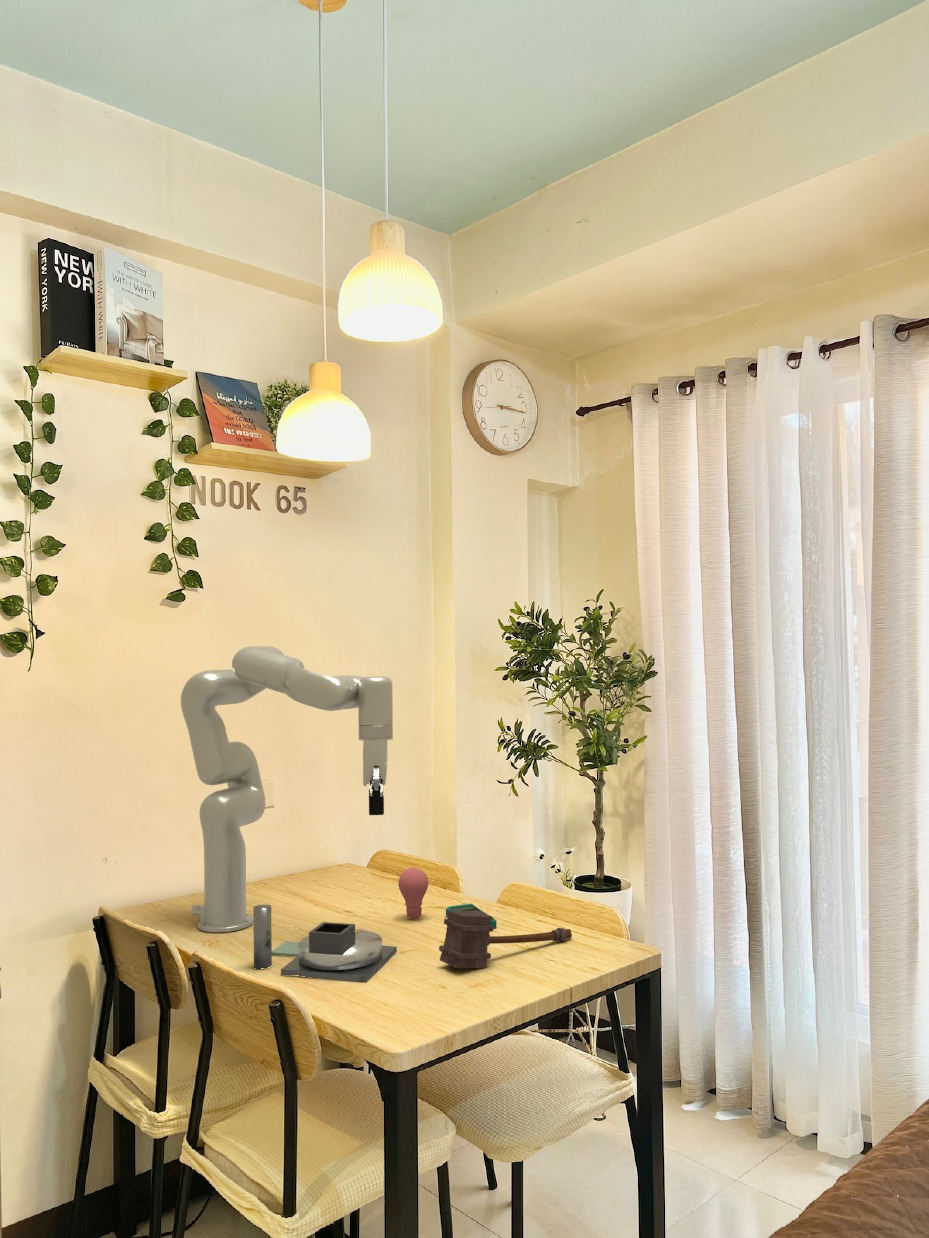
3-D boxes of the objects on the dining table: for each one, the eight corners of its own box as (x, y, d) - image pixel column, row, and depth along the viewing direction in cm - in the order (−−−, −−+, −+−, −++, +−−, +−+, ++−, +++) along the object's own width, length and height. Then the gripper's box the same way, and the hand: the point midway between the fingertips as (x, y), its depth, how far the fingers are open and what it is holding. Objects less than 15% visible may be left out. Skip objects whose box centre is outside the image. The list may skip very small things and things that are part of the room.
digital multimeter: (468, 935, 206) (468, 922, 206) (444, 917, 220) (444, 905, 220) (498, 931, 209) (498, 918, 209) (473, 914, 223) (472, 901, 223)
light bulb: (411, 924, 213) (410, 873, 214) (392, 918, 219) (392, 867, 219) (434, 918, 218) (434, 867, 218) (416, 912, 223) (415, 862, 224)
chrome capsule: (250, 968, 185) (250, 908, 186) (258, 962, 189) (258, 904, 189) (266, 970, 185) (266, 909, 185) (274, 964, 188) (274, 904, 188)
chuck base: (280, 975, 181) (280, 969, 181) (318, 946, 199) (318, 940, 199) (366, 982, 177) (366, 975, 177) (396, 952, 194) (396, 946, 194)
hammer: (436, 959, 185) (443, 908, 186) (556, 958, 203) (561, 912, 205) (455, 968, 179) (463, 916, 181) (576, 967, 198) (582, 919, 199)
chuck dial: (284, 966, 182) (283, 931, 182) (319, 939, 198) (319, 908, 198) (364, 972, 177) (364, 937, 178) (393, 945, 194) (393, 912, 194)
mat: (269, 954, 194) (269, 952, 194) (285, 943, 201) (285, 940, 201) (303, 957, 192) (303, 954, 192) (317, 945, 199) (317, 943, 199)
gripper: (359, 729, 210) (359, 804, 209) (358, 736, 193) (358, 818, 192) (391, 729, 211) (392, 803, 210) (393, 736, 194) (394, 817, 193)
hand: (376, 810), depth 201 cm, fingers open, 9 cm apart
